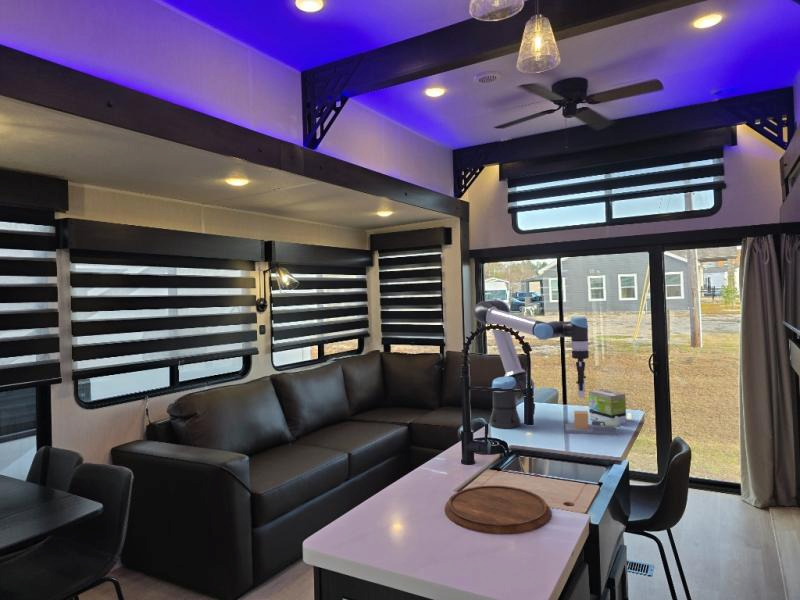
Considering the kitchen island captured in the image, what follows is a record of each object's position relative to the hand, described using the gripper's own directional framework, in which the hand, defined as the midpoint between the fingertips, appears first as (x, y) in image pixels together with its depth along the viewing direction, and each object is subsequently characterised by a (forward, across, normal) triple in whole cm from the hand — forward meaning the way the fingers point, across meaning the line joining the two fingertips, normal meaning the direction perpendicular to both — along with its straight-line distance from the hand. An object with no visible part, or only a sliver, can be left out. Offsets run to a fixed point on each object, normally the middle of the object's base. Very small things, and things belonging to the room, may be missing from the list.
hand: (581, 394), depth 246 cm
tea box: (+17, +21, -11) cm, 29 cm away
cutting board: (+18, -101, +23) cm, 105 cm away
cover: (+14, +1, -13) cm, 19 cm away
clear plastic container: (+17, 0, -3) cm, 17 cm away
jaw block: (+15, 0, +1) cm, 15 cm away
